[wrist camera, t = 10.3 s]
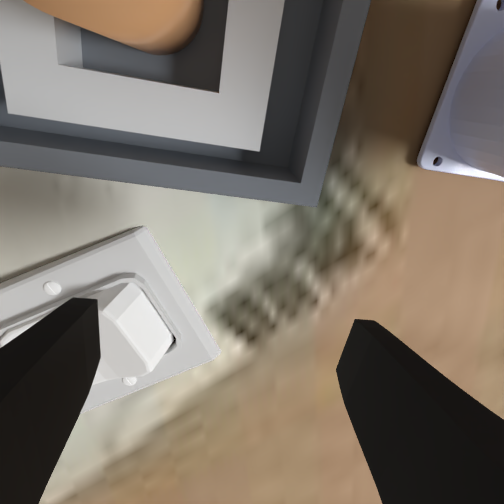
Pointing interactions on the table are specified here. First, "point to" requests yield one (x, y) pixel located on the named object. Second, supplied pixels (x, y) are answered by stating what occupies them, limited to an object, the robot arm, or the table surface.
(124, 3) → the brown cylindrical peg
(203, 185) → the walled box
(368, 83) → the table surface
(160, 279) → the light switch
